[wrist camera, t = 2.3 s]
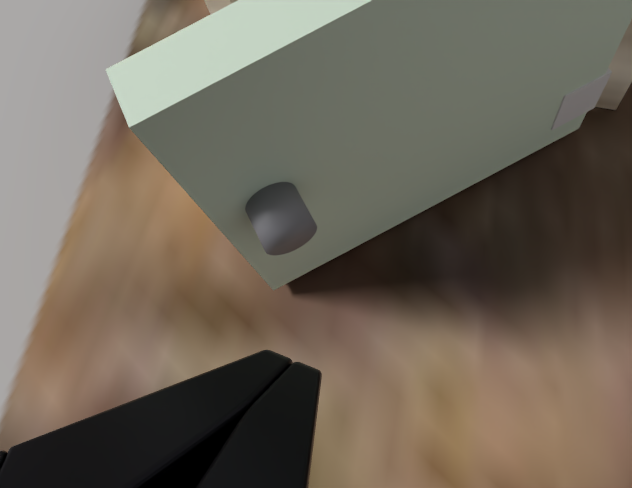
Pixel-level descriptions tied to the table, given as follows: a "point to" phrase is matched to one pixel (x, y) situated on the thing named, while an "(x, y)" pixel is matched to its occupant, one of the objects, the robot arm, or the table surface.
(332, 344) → the table surface
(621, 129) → the table surface
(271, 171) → the door
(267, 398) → the robot arm
